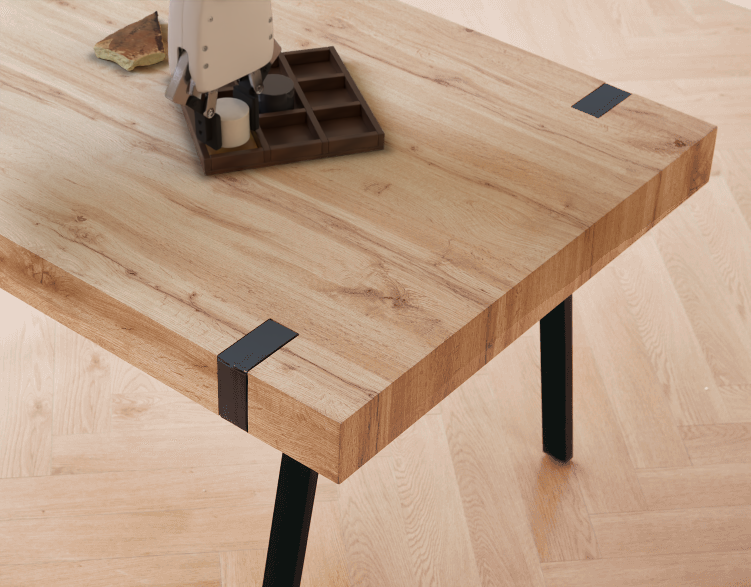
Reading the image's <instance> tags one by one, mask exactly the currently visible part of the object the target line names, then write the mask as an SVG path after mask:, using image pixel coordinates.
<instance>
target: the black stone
mask: <svg viewBox="0 0 751 587" xmlns="http://www.w3.org/2000/svg"><path fill="white" fill-rule="evenodd" d="M263 85H264V89H263V91H262V93H261V94H259V95H258V97H259V114H264V113H272V112H279V111H287V110H294V82H293V81H292V80H291V79H290V78H289V77H286V76H284V75H279V74H268V75H267V76H266V78H265V79H264V81H263Z"/></svg>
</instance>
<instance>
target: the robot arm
mask: <svg viewBox="0 0 751 587" xmlns="http://www.w3.org/2000/svg"><path fill="white" fill-rule="evenodd" d="M274 33H275V32H274V16H273V8H272V0H169V5H168V17H167V55H168V56H167V58H168V68H169V74H170V76H171V77H170V80H169V82H168V85H167V87H166V90H165V93H164V97H165V98H166V99H167V100H168V101H171V102H172V103H174V104H177V105H180V106H181V105H183V106H187V107H190V108H191V109H193V110H194V114H195V129H196V136H197V138H198V140H199V141H201V142H203V143H204V144H206V145H208V146H209V147H211V148H213V149H214V150H219V149H221V146H222V133H221V117H220V115H219V114H217V113H215V112H216V104H217V97H218V89H219V87H222V86H224V85H226V84H228V83H230V82H233V81H235V80H237V83H238V85H235V86H233V98H236V99H239V100H242V101H243V102H245V103H246V104H247V105H248V106H249V117H250V130H253V131H255V130H257V129H259V97H258V95H259V94H261V93H262V91H263V89H264V85H263V81H264V79H265V78H266V76H267V74H268V73H269V71H270V68H271V65H272V64H273V63H274V61H275V60H276V59H277V57H278V56H279V54H280V53H281V52H282V46H281V45H280V44H279V43H278V41H277V40H276V39H275V34H274ZM189 82H190V89H189V92H187V91H186V90H187V87H188V84H189ZM205 92H206V93H205ZM202 93H205V98H204V101H203V100H201V95H202Z"/></svg>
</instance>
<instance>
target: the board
mask: <svg viewBox="0 0 751 587" xmlns="http://www.w3.org/2000/svg"><path fill="white" fill-rule="evenodd" d="M268 74H279V75H284V76H286V77H289V78H290V79H291V80H292V81H293V82H294V110H287V111H279V112H272V113H264V114H259V129H257V130H255V131H253V130H250V138H249V140H248V141H247V142H246V143H245V144H243V145H241V146H237V147H232V148H224V147H221V149H219V150H214V149H213V148H211V147H209V146H208V145H206V144H204V143H203V142H201V141H199V140H198V138H197V136H196V129H195V114H194V110H193V109H191V108H190V107H187V106H183V105H180V107H181V111H182V113H183V116H184V120H185V122H186V124H187V129H188V130H189V133H190V135H191V139H192V142H193V145H194V148H195V151H196V153H197V156H198V159H199V162H200V165H201V168H202V170H203V174H204V176H211V175H217V174H218V175H219V174H225V173H231V172H237V171H245V170H253V169H258V168H266V167H272V166H280V165H286V164H293V163H301V162H306V161H313V160H320V159H326V158H327V159H329V158H332V157H333V158H334V157H335V158H336V157H341V156H346V155H348V156H349V155H353V154H361V153H362V154H363V153H369V152H375V151H376V152H377V151H381V150H385V137H386V136H385V135H386V133H385V131H384V130H383V128H382V126H381V124H380V123H379V121H378V120H377V117H376V116H375V115H374V113H373V111H372V109H371V107H370V106H369V104H368V102H367V101H366V98H365V97H364V95H363V94H362V92H361V90H360V89H359V87H358V85H357V84H356V82H355V80H354V78H353V76H352V75H351V73H350V72H349V70H348V68H347V66H346V65H345V63H344V61H343V60H342V58H341V56H340V55H339V52H338V51H337V49H336V48H335V46H334V45H329V46H323V47H321V46H320V47H313V48H306V49H298V50H297V49H296V50H288V51H283V52H282V51H281V53H280V54H279V56H278V57H277V59H276V60H275V61H274V63H273V64H272V65H271V68H270V71H269V73H268ZM268 74H267V75H268ZM235 85H238V83H237V80H235V81H233V82H230V83H228V84H226V85H224V86H222V87H219V89H218V97H217V99H219V98H233V86H235ZM189 89H190V82H189V84H188V87H187V90H186V91H187V92H189ZM205 93H206V92H205ZM205 93H202V95H201V100H203V101H204V98H205Z"/></svg>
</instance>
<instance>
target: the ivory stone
mask: <svg viewBox="0 0 751 587" xmlns="http://www.w3.org/2000/svg"><path fill="white" fill-rule="evenodd" d="M215 113H217V114H219V115H220V117H221V133H222V146H221V147H224V148H232V147H237V146H241V145H243V144H245V143H246V142H247V141H248V140H249V138H250V117H249V106H248V105H247V104H246V103H245V102H243V101H242V100H239V99H236V98H219V99H217V104H216V112H215Z"/></svg>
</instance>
